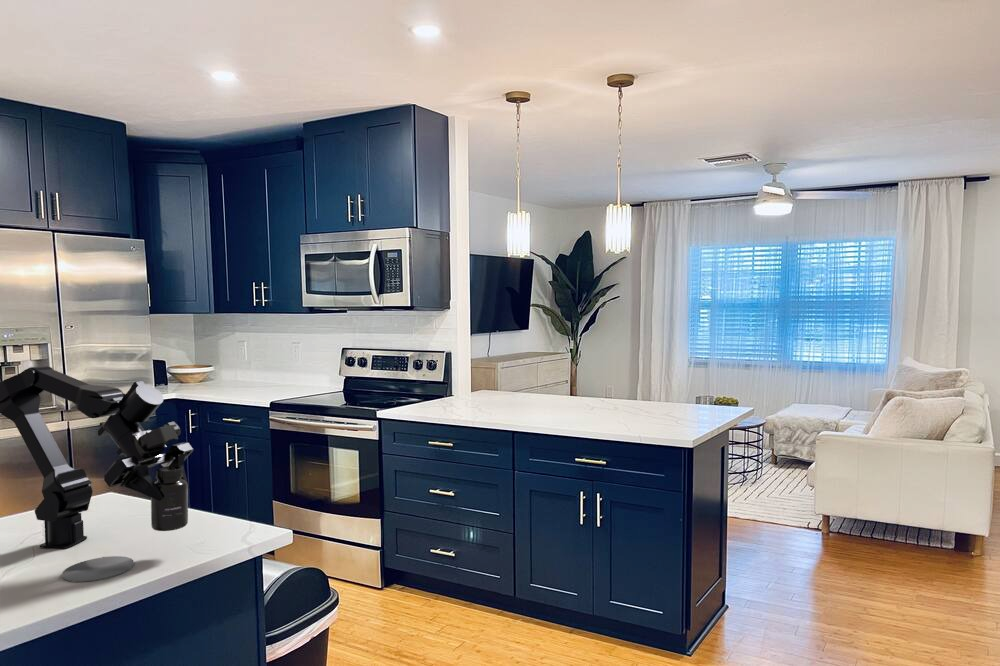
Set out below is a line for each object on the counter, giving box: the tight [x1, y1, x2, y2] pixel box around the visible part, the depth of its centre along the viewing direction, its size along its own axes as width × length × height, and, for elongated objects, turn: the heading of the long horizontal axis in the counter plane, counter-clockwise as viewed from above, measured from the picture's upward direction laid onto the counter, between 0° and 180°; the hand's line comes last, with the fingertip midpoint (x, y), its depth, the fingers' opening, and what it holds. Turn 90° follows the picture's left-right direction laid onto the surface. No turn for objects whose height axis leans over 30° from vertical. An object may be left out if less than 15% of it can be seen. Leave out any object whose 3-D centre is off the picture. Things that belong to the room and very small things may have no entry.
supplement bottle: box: [150, 466, 189, 532], centre depth 141 cm, size 7×7×12 cm
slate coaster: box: [61, 555, 135, 582], centre depth 135 cm, size 12×12×1 cm
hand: (174, 494), depth 141 cm, fingers closed on supplement bottle, 7 cm apart
